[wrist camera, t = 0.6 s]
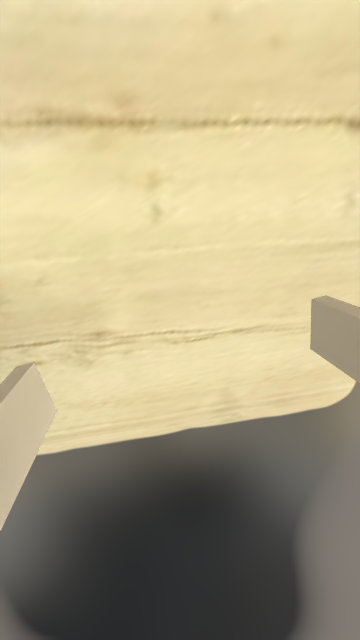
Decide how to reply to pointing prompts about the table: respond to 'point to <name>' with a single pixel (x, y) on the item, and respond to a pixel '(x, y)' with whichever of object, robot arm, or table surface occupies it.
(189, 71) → the table surface
